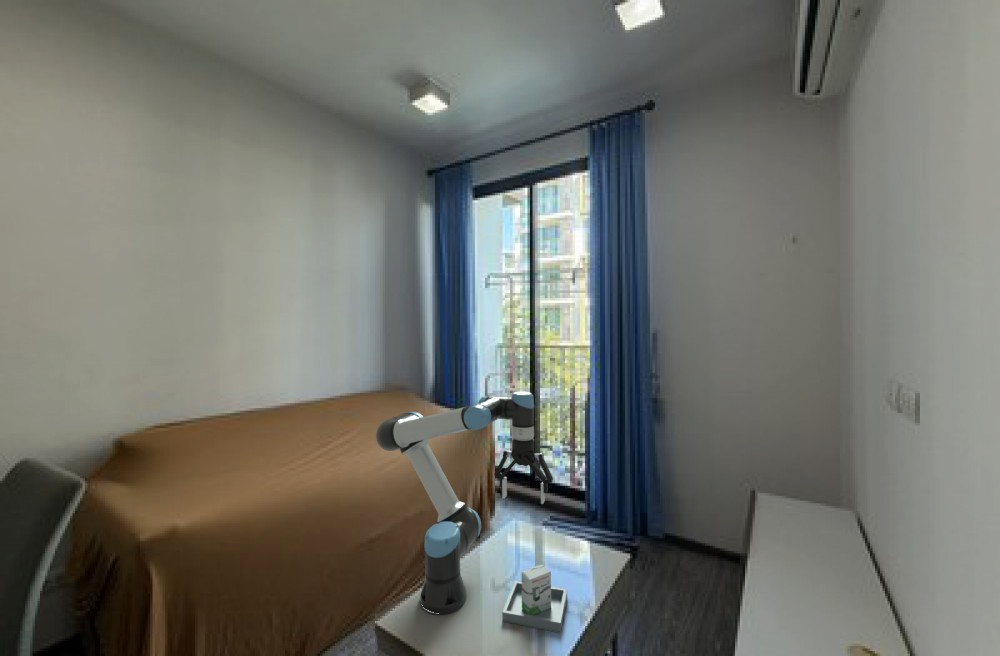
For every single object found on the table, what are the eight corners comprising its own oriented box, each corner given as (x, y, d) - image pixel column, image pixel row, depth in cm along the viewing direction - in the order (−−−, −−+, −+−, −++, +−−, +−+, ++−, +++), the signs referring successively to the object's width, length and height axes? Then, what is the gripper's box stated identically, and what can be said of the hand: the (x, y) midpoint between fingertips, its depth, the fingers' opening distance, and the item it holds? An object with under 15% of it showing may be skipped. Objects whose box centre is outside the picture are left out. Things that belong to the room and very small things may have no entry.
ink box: (530, 617, 126) (529, 579, 126) (521, 608, 130) (520, 571, 130) (552, 607, 131) (551, 570, 131) (542, 598, 135) (542, 563, 135)
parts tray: (502, 621, 125) (502, 612, 125) (514, 589, 141) (514, 580, 141) (560, 633, 120) (560, 622, 120) (567, 598, 136) (567, 589, 136)
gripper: (485, 437, 140) (485, 499, 140) (557, 444, 132) (557, 509, 132) (492, 432, 147) (492, 490, 147) (561, 437, 139) (561, 499, 139)
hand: (523, 499), depth 140 cm, fingers open, 13 cm apart
